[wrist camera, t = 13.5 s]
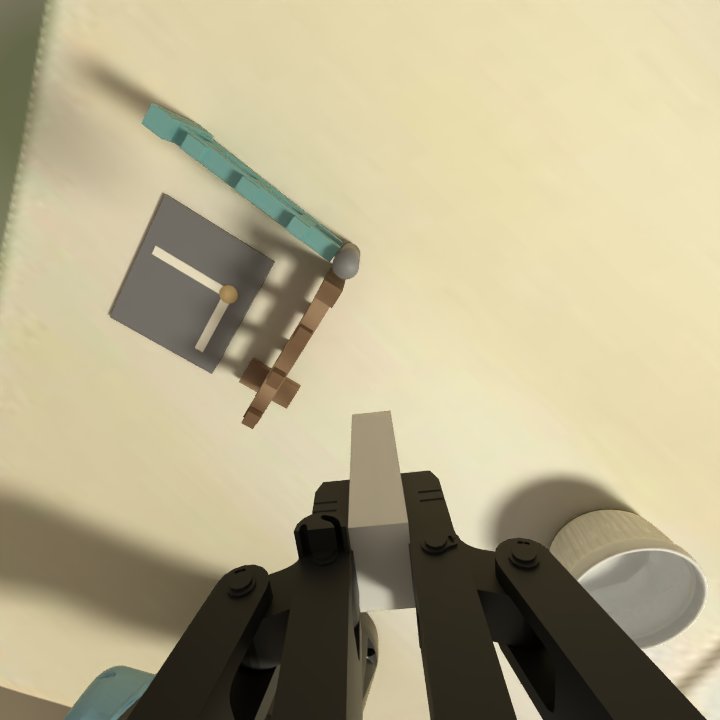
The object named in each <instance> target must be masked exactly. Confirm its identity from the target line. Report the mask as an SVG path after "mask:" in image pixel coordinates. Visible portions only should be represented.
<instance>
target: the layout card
mask: <svg viewBox="0 0 720 720" xmlns="http://www.w3.org/2000/svg"><path fill="white" fill-rule="evenodd" d="M273 264H274V261H273V260H271V259H269V258H268V257H266V256H265V255H263V254H261V253H260V252H258V251H257V250H255V249H253V248H252V247H250V246H248V245H247V244H245V243H244V242H242V241H240V240H239V239H237V238H236V237H234V236H232V235H231V234H229V233H228V232H226V231H224V230H223V229H221V228H220V227H218V226H216V225H215V224H213V223H212V222H210V221H208V220H207V219H205V218H204V217H202V216H200V215H199V214H197V213H195V212H194V211H192V210H191V209H189V208H187V207H186V206H184V205H183V204H181V203H179V202H178V201H176V200H175V199H173V198H171V197H170V196H168V195H166V194H165V196H164V198H163V200H162V202H161V205H160V207H159V209H158V211H157V213H156V216H155V218H154V220H153V222H152V224H151V227H150V229H149V231H148V233H147V236H146V238H145V240H144V242H143V244H142V247H141V249H140V251H139V253H138V255H137V258H136V260H135V262H134V264H133V266H132V269H131V271H130V273H129V275H128V278H127V280H126V282H125V284H124V286H123V289H122V291H121V293H120V295H119V297H118V300H117V302H116V304H115V306H114V309H113V311H112V313H111V315H110V317H111V318H113V319H114V320H116V321H118V322H120V323H122V324H123V325H125V326H127V327H129V328H130V329H132V330H134V331H136V332H138V333H139V334H141V335H143V336H145V337H147V338H148V339H150V340H152V341H154V342H156V343H157V344H159V345H161V346H163V347H165V348H166V349H168V350H170V351H172V352H174V353H175V354H177V355H179V356H181V357H182V358H184V359H186V360H188V361H190V362H191V363H193V364H195V365H197V366H199V367H200V368H202V369H204V370H206V371H208V372H209V373H211V374H212V373H213V371H214V370H215V368H216V366H217V364H218V362H219V361H220V359H221V357H222V355H223V353H224V352H225V350H226V348H227V346H228V345H229V343H230V341H231V339H232V337H233V336H234V334H235V332H236V330H237V328H238V327H239V325H240V323H241V321H242V319H243V318H244V316H245V314H246V312H247V311H248V309H249V307H250V305H251V303H252V302H253V300H254V298H255V296H256V294H257V293H258V291H259V289H260V287H261V286H262V284H263V282H264V280H265V278H266V277H267V275H268V273H269V271H270V269H271V268H272V266H273Z"/></svg>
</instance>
